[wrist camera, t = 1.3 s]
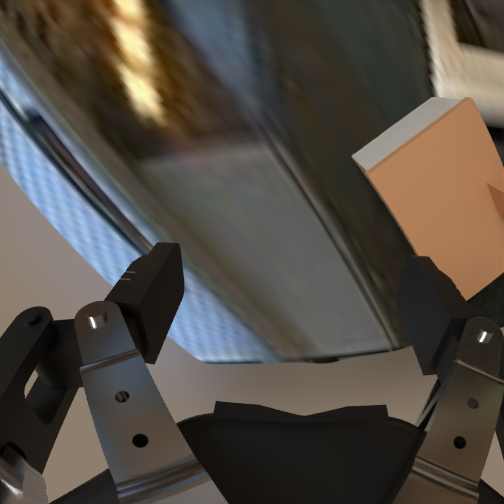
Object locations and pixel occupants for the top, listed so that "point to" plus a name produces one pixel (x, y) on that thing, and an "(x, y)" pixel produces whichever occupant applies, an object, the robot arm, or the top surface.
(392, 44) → the top surface
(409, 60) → the top surface
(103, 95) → the top surface
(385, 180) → the snap lid
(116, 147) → the top surface
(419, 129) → the parts tub
